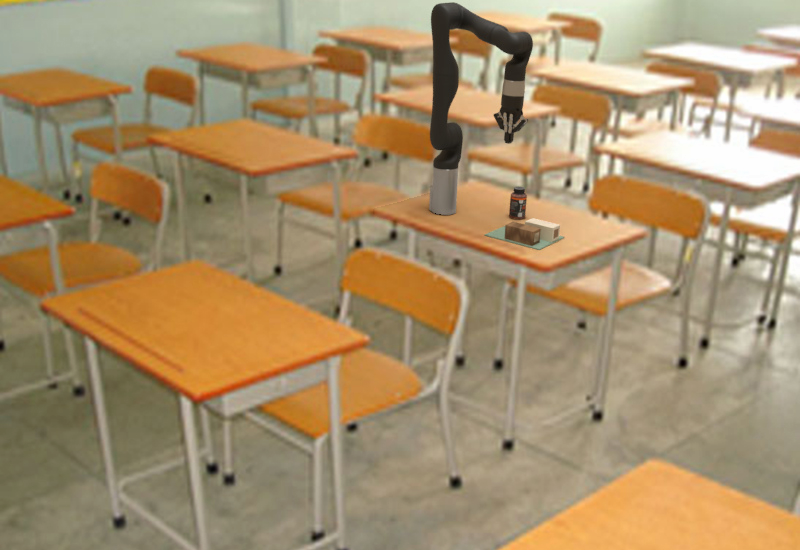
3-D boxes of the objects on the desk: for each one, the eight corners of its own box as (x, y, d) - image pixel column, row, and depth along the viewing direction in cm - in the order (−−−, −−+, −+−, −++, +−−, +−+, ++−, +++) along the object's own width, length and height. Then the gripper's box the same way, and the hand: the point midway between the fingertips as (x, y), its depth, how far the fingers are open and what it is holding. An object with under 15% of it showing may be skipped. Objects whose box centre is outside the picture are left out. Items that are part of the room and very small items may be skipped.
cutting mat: (484, 235, 342) (484, 234, 341) (510, 224, 354) (510, 223, 354) (539, 250, 329) (539, 249, 329) (564, 237, 342) (564, 236, 341)
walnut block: (505, 224, 336) (533, 232, 330) (513, 221, 340) (540, 228, 333) (504, 238, 338) (532, 246, 332) (512, 235, 342) (539, 242, 335)
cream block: (525, 221, 340) (553, 228, 334) (532, 218, 344) (560, 224, 338) (524, 235, 342) (551, 242, 336) (531, 231, 346) (559, 238, 340)
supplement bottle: (524, 220, 359) (526, 190, 354) (508, 219, 360) (510, 189, 355) (525, 215, 364) (528, 186, 360) (509, 214, 365) (511, 185, 361)
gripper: (490, 91, 330) (486, 141, 337) (524, 97, 323) (519, 148, 330) (502, 87, 336) (497, 137, 343) (535, 94, 329) (530, 144, 335)
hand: (508, 142), depth 336 cm, fingers closed
